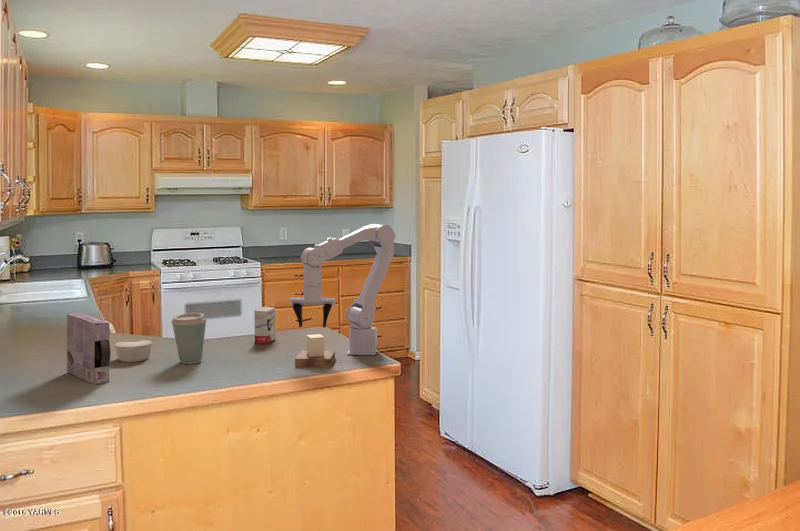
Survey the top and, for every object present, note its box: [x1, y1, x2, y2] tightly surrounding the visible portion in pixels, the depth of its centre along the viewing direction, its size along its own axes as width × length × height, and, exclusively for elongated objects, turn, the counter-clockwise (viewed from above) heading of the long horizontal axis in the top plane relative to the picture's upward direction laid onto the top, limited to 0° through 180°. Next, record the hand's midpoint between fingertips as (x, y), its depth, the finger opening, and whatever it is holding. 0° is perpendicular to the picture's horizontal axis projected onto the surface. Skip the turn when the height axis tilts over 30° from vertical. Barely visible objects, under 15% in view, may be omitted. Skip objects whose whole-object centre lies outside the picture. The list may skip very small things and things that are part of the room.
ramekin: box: [114, 339, 153, 363], centre depth 224 cm, size 11×11×5 cm
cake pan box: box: [66, 312, 111, 386], centre depth 201 cm, size 19×5×18 cm, turn 48°
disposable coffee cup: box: [171, 312, 207, 365], centre depth 220 cm, size 11×11×15 cm
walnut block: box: [294, 349, 336, 368], centre depth 222 cm, size 11×11×3 cm
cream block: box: [306, 333, 325, 357], centre depth 222 cm, size 4×4×6 cm
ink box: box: [254, 306, 276, 345], centre depth 251 cm, size 9×5×12 cm, turn 168°
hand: (312, 326), depth 227 cm, fingers open, 7 cm apart
